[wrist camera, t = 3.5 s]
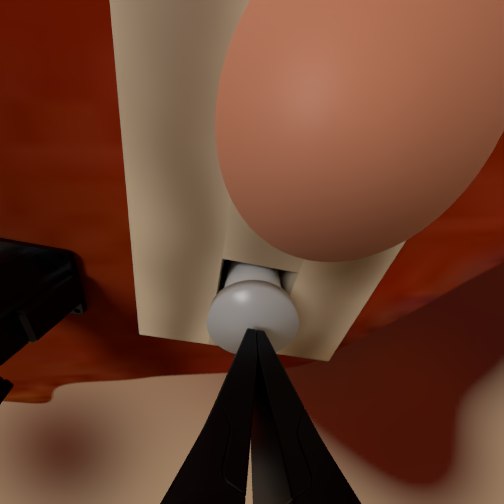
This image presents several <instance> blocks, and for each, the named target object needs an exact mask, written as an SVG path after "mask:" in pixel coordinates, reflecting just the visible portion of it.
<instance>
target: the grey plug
mask: <svg viewBox="0 0 504 504" xmlns="http://www.w3.org/2000/svg"><path fill="white" fill-rule="evenodd" d="M247 328H252V329H255V330H257V329H258V330H264V331H265V333H266V335H267V336H268V338H269V340H270V342H271V344H272V346H273V348H274V350H275V352H277V351H279V350H281V349H283V348H285V347H286V346H287V345H289V344H290V343H291V342H292V341H293V339H294V338H295V336H296V335H297V332H298V329H299V318H298V314H297V310H296V307H295V304H294V301H293V299H292V298H291V296H290V295H289V294H288V293H287V292H286V291H285V290H284V289H282V288H281V284H280V279H279V275H278V270H277V269H275V268H270V267H265V266H259V265H254V264H249V263H243V262H238V261H232V260H230V264H229V268H228V273H227V278H226V282H225V287H224V288H223V289H222V290H221V291H220V292H219V293H218V294H217V295H216V296H215V297H214V299H213V301H212V303H211V306H210V310H209V313H208V317H207V330H208V333H209V335H210V337H211V338H212V340H213V341H214V342H215V343H216V344H217V345H219V346H220V347H221V348H223V349H224V350H226V351H228V352H231V353H234V354H236V353H237V350H238V348H239V346H240V344H241V341H242V339H243V337H244V334H245V332H246V330H247Z"/></svg>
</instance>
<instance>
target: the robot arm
mask: <svg viewBox="0 0 504 504" xmlns="http://www.w3.org/2000/svg"><path fill="white" fill-rule="evenodd" d="M86 310H87V307H86V303H85V299H84V295H83V291H82V287H81V283H80V279H79V275H78V271H77V267H76V263H75V259H74V256H73V254H72V253H71V252H70V251H68V250H65V249H60V248H54V247H48V246H43V245H37V244H31V243H26V242H20V241H14V240H9V239H3V238H0V366H1V365H2V364H4V363H5V362H6V361H7V360H8V359H10V358H11V357H12V356H13V355H14V354H16V353H17V352H18V351H19V350H20V349H22V348H23V347H24V346H25V345H26V344H28V343H29V342H30V343H33V342H36V341H37V340H39V339H40V338H41V337H42V336H43V335H45V334H46V333H47V332H48V331H49V330H50V329H52V328H53V327H54V326H55V325H56V324H57V323H59V322H60V321H61V320H62V319H63V318H64V317H66V316H67V315H68V314H76V315H82V314H83V313H84V312H85V311H86ZM13 386H14V385H13V384H12V383H11V382H10V381H9V380H4V379H3V378H2V377H1V376H0V404H1V402H2V401H3V400H4V398H5V397H6V396H7V394H8V393H9V392H10V390H11V389H12V387H13ZM250 440H251V461H252V491H253V504H361V502H360V501H359V499H358V498H357V496H356V494H355V493H354V491H353V490H352V488H351V486H350V485H349V483H348V482H347V480H346V479H345V477H344V475H343V473H342V472H341V470H340V469H339V467H338V465H337V464H336V462H335V461H334V459H333V457H332V456H331V454H330V452H329V451H328V449H327V447H326V446H325V444H324V443H323V441H322V439H321V437H320V436H319V434H318V432H317V430H316V428H315V427H314V425H313V423H312V421H311V419H310V417H309V415H308V413H307V411H306V410H305V409H304V406H303V404H302V402H301V400H300V398H299V396H298V394H297V392H296V391H295V388H294V387H293V385H292V383H291V381H290V379H289V377H288V375H287V373H286V371H285V369H284V367H283V365H282V363H281V361H280V360H279V358H278V356H277V354H276V352H275V350H274V348H273V346H272V344H271V342H270V340H269V338H268V336H267V335H266V333H265V331H264V330H258V329H257V330H255V329H252V328H247V330H246V332H245V334H244V337H243V339H242V341H241V344H240V346H239V348H238V350H237V353H236V355H235V357H234V360H233V362H232V364H231V367H230V369H229V371H228V374H227V376H226V378H225V381H224V383H223V385H222V387H221V390H220V392H219V394H218V397H217V399H216V401H215V403H214V406H213V408H212V410H211V412H210V414H209V417H208V419H207V421H206V423H205V425H204V427H203V429H202V431H201V433H200V435H199V436H198V438H197V440H196V442H195V444H194V446H193V447H192V449H191V451H190V453H189V454H188V456H187V458H186V460H185V461H184V463H183V465H182V467H181V468H180V470H179V472H178V474H177V476H176V477H175V479H174V481H173V482H172V484H171V486H170V488H169V489H168V491H167V493H166V495H165V496H164V498H163V500H162V502H161V503H160V504H245V496H246V487H247V475H248V464H249V452H250Z"/></svg>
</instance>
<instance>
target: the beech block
mask: <svg viewBox="0 0 504 504" xmlns="http://www.w3.org/2000/svg"><path fill="white" fill-rule="evenodd" d="M249 1H250V0H110V10H111V21H112V32H113V44H114V55H115V66H116V78H117V89H118V100H119V112H120V123H121V134H122V146H123V157H124V168H125V180H126V191H127V202H128V213H129V225H130V236H131V247H132V259H133V270H134V281H135V293H136V304H137V315H138V327H139V334H140V335H147V336H154V337H161V338H168V339H175V340H182V341H189V342H196V343H203V344H210V345H217V344H216V343H215V342H214V341H213V340H212V338H211V337H210V335H209V333H208V330H207V317H208V313H209V310H210V306H211V303H212V301H213V299H214V297H215V296H216V295H217V294H218V293H219V292H220V291H221V290H222V289H223V288H224V287H225V282H226V281H224V280H222V276H223V270H224V264H225V259H227V260H232V261H238V262H243V263H249V264H254V265H259V266H265V267H270V268H275V269H279V270H278V275H279V279H280V284H281V288H282V289H284V290H285V291H286V292H287V293H288V294H289V295H290V296H291V298H292V299H293V301H294V304H295V307H296V310H297V314H298V318H299V329H298V332H297V335H296V336H295V338H294V339H293V341H292V342H291V343H290V344H289V345H287V346H286V347H285V348H283V349H281V350H279V351H277V352H276V354H281V355H288V356H295V357H302V358H309V359H316V360H323V361H329V360H330V358H331V357H332V355H333V354H334V352H335V350H336V349H337V347H338V346H339V344H340V343H341V341H342V340H343V338H344V336H345V335H346V333H347V332H348V330H349V329H350V327H351V326H352V324H353V322H354V321H355V319H356V318H357V316H358V315H359V313H360V311H361V310H362V308H363V307H364V305H365V304H366V302H367V301H368V299H369V297H370V296H371V294H372V293H373V291H374V290H375V288H376V287H377V285H378V283H379V282H380V280H381V279H382V277H383V276H384V274H385V273H386V271H387V269H388V268H389V266H390V265H391V263H392V262H393V260H394V258H395V257H396V255H397V254H398V252H399V251H400V249H401V248H402V246H403V244H404V243H405V241H404V242H402V243H400V244H398V245H396V246H394V247H392V248H390V249H388V250H385V251H383V252H380V253H378V254H375V255H372V256H368V257H365V258H361V259H356V260H351V261H343V262H318V261H310V260H305V259H302V258H298V257H294V256H292V255H289V254H287V253H284V252H282V251H280V250H279V249H277V248H275V247H273V246H271V245H270V244H269V243H267V242H266V241H265V240H263V239H262V238H261V237H259V236H258V235H257V234H256V233H255V232H254V231H253V230H252V229H251V228H250V227H249V225H248V224H247V223H246V222H245V220H244V219H243V218H242V217H241V215H240V214H239V212H238V210H237V209H236V207H235V205H234V204H233V202H232V200H231V198H230V195H229V193H228V191H227V189H226V186H225V183H224V180H223V177H222V173H221V170H220V166H219V160H218V155H217V149H216V135H215V115H216V100H217V94H218V87H219V81H220V76H221V72H222V68H223V65H224V61H225V57H226V53H227V50H228V48H229V45H230V42H231V40H232V37H233V35H234V32H235V29H236V27H237V24H238V22H239V20H240V18H241V17H242V15H243V13H244V11H245V9H246V7H247V5H248V3H249ZM217 346H219V345H217Z"/></svg>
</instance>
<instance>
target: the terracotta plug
mask: <svg viewBox="0 0 504 504" xmlns="http://www.w3.org/2000/svg"><path fill="white" fill-rule="evenodd" d="M503 131H504V0H250V1H249V3H248V5H247V7H246V9H245V11H244V13H243V15H242V17H241V18H240V20H239V22H238V24H237V27H236V29H235V32H234V35H233V37H232V40H231V42H230V45H229V48H228V50H227V53H226V57H225V61H224V65H223V68H222V72H221V76H220V81H219V87H218V94H217V100H216V115H215V135H216V149H217V155H218V160H219V166H220V170H221V173H222V177H223V180H224V183H225V186H226V189H227V191H228V193H229V195H230V198H231V200H232V202H233V204H234V205H235V207H236V209H237V210H238V212H239V214H240V215H241V217H242V218H243V219H244V220H245V222H246V223H247V224H248V225H249V227H250V228H251V229H252V230H253V231H254V232H255V233H256V234H257V235H258V236H259V237H261V238H262V239H263V240H265V241H266V242H267V243H269V244H270V245H271V246H273V247H275V248H277V249H279V250H280V251H282V252H284V253H287V254H289V255H292V256H294V257H298V258H302V259H305V260H310V261H318V262H343V261H351V260H356V259H361V258H365V257H368V256H372V255H375V254H378V253H380V252H383V251H385V250H388V249H390V248H392V247H394V246H396V245H398V244H400V243H402V242H404V241H406V240H408V239H409V238H411V237H412V236H414V235H415V234H417V233H418V232H420V231H421V230H423V229H424V228H426V227H427V226H428V225H429V224H431V223H432V222H433V221H434V220H436V219H437V218H438V217H439V216H440V215H441V214H443V213H444V212H445V211H446V210H447V209H448V208H449V207H450V206H451V205H452V204H453V203H454V202H455V201H456V200H457V199H458V198H459V197H460V195H461V194H462V193H463V192H464V191H465V190H466V189H467V187H468V186H469V185H470V184H471V182H472V181H473V180H474V178H475V177H476V176H477V175H478V173H479V172H480V170H481V169H482V167H483V166H484V164H485V163H486V161H487V160H488V158H489V156H490V155H491V153H492V152H493V150H494V148H495V146H496V144H497V142H498V140H499V138H500V136H501V135H502V133H503Z"/></svg>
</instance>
